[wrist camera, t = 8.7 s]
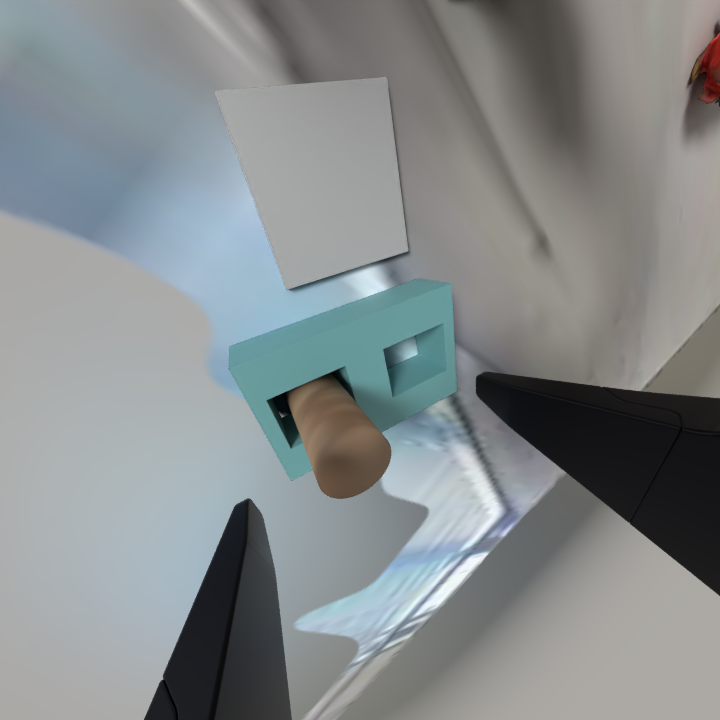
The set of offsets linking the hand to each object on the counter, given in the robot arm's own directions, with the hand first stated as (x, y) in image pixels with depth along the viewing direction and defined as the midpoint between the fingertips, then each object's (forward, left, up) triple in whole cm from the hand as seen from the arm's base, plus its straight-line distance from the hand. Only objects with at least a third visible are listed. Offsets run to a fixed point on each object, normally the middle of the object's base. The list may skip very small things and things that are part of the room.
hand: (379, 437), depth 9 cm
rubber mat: (-5, -9, -13) cm, 16 cm away
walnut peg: (+1, +4, -13) cm, 13 cm away
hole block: (-3, +4, -13) cm, 13 cm away
